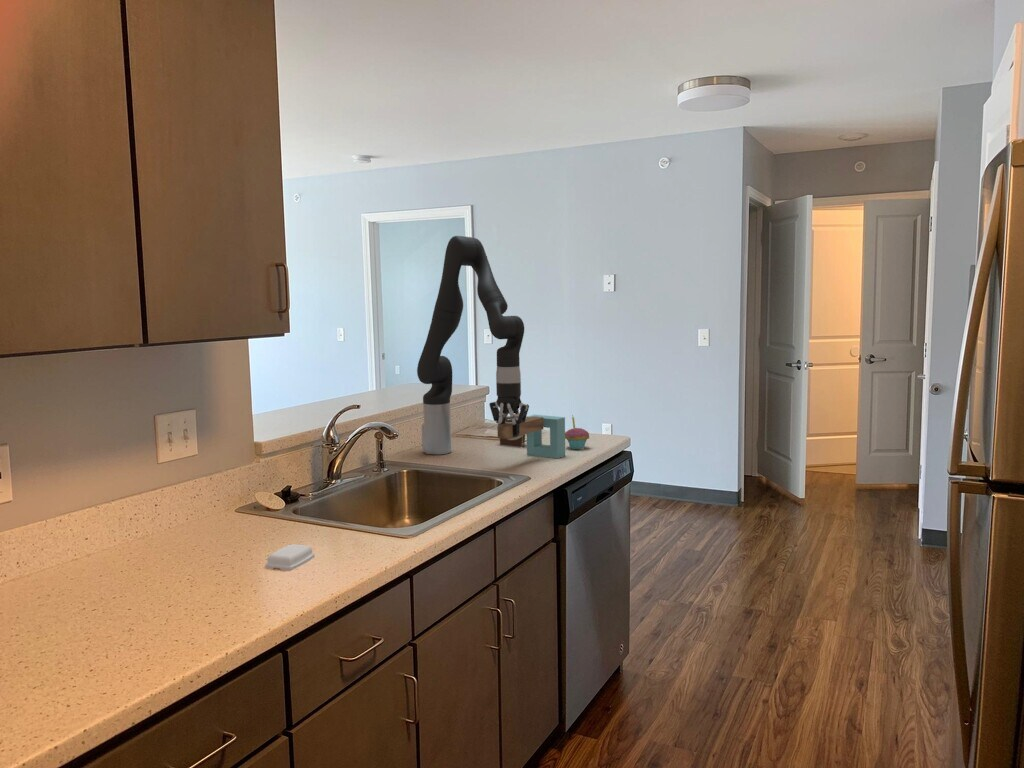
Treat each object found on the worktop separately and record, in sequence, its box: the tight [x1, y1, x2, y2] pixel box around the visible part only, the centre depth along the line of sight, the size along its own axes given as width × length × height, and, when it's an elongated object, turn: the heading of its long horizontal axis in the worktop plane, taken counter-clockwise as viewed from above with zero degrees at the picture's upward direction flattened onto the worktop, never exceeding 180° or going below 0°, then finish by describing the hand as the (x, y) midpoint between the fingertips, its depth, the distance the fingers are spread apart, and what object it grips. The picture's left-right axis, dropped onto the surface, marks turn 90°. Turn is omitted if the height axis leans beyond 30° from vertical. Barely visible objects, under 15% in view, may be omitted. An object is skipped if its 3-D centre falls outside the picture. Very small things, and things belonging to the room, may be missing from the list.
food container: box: [495, 415, 526, 448], centre depth 269 cm, size 12×6×10 cm, turn 58°
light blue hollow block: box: [526, 414, 566, 460], centre depth 250 cm, size 12×5×13 cm, turn 55°
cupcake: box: [565, 414, 590, 450], centre depth 261 cm, size 9×8×12 cm
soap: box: [265, 543, 315, 571], centre depth 153 cm, size 9×7×3 cm
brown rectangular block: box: [496, 416, 544, 439], centre depth 238 cm, size 4×20×4 cm, turn 145°
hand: (509, 435), depth 233 cm, fingers closed on brown rectangular block, 4 cm apart
